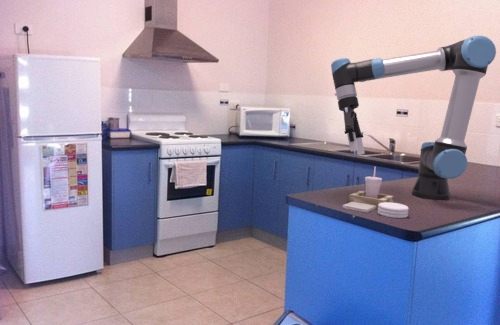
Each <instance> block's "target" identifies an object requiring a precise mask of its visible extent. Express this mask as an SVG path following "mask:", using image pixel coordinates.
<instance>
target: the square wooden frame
mask: <svg viewBox="0 0 500 325" xmlns="http://www.w3.org/2000/svg"><path fill="white" fill-rule="evenodd" d="M348 202H349V203H350V202H357V203H363V204H369V205H374V206H376V209H378V204H379V203H383V202H391V203H395V195H391V194H387V193H386V194H385V193H380V192H379V194H378V198H371V197H366V190H359V191H356V192H353V193H350V194H349V195H348Z"/></svg>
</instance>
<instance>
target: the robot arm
mask: <svg viewBox="0 0 500 325" xmlns="http://www.w3.org/2000/svg"><path fill="white" fill-rule="evenodd" d="M496 55H497V47H496V46H495V43H494V42H493V41H492V40H491V39H490V38H489V37H487V36H484V35H474V36H469V37H468V38H465V39H461V40H459V41H457V42H454V43H452V44H448V45H446V46H441V47H438V48H437V49H436V50H433V51H426V52H420V53H415V54H409V55H402V56H397V57H391V58H384V59H382V58H380V57H378V58H371V59H367V60H362V61H357V62H351V60H350V59H349V58H347V57H345V58H343V57H342V58H337V59H335V60H333V61H332V62H331V65H330V68H331V75H332V80H333V85H334V89H335V93H334V96H336V100H337V106H338V110H339V111H340V112H343V120H344V122H343V123H344V134H345V135H346V134H347V136H346V137H347V140H348V145H349V149H350V152H354V151H356V153H357V156H360V155H365V154H366V153H365V148H364V144H363V138H364V135H363V134H362V131H361V128H360V127H361V126H360V124H359V120H358V117H357V115H358V114H357V112H355V109H357V108H359V106H360V105H359V100H358V99H359V98H358V97H357V96H358V94H357V89H356V85H355V83H358V82H359V83H364V82H368V81H374V80H379V79H386V78H392V77H399V76H404V75H405V76H406V75H411V74H417V73H424V72H428V71H429V72H430V71H436V70H438V71H440V72H445V71H452V72H453V74H454V81H453V85H452V88H451V93H450V97H449V101H448V104H447V110H446V114H445V118H444V121H443V125H442V130H441V134H440V137H439V138H437V139H435V141H426V142H425V141H424V142H423V143H422V144H421V148H420V150H419V151H420V155H419V163H418V164H419V166H418V174H417V178H416V181H415V183H414V185H413V187H412V189H411V190H412V191H411V195H412V196H413V197H416V198H418V199H425V200H430V201H431V200H433V201H449V200H451V192H450V187H449V180H453V179H457V178H459V177H460V176H462V175H463V174H464V173H465V171H466V170H467V168H468V158H467V156H466V154H467V149H468V145H467V144H466V142H465V138H466V135H467V131H468V127H469V123H470V120H471V116H472V111H473V108H474V104H475V99H476V96H477V92H478V88H479V83H480V80H481V79H483V78H484V77H485V76H486V75H487V71H488V67H489V65H491V64H492V62H494V60H495V58H496Z"/></svg>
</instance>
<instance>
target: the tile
mask: <svg viewBox="0 0 500 325" xmlns="http://www.w3.org/2000/svg"><path fill="white" fill-rule="evenodd" d="M342 208H343V209H345V210H350V209H351V211H356V212H361V213H370V212H372V211H375V210H376V209H377V208H376V206H374V205H369V204H363V203H357V202H350V203H345V204H342Z"/></svg>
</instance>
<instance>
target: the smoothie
mask: <svg viewBox="0 0 500 325" xmlns="http://www.w3.org/2000/svg"><path fill="white" fill-rule="evenodd" d="M376 168H377V166H374V170H373V176H365V177H364V181H365V191H366V197H371V198H378V194H379V193H380V188H381V184H382V182H383V179H382V177H377V176H376V170H377V169H376Z"/></svg>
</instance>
